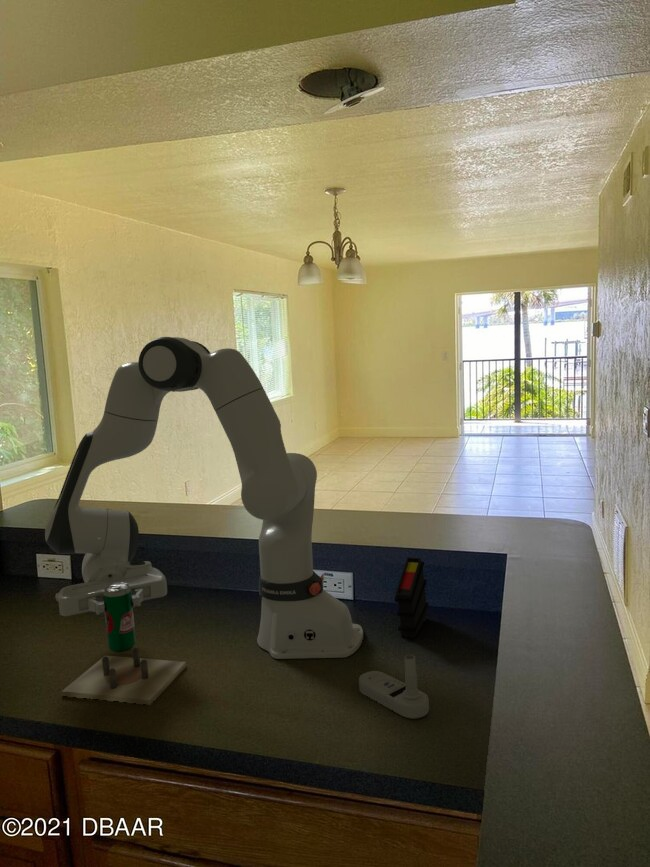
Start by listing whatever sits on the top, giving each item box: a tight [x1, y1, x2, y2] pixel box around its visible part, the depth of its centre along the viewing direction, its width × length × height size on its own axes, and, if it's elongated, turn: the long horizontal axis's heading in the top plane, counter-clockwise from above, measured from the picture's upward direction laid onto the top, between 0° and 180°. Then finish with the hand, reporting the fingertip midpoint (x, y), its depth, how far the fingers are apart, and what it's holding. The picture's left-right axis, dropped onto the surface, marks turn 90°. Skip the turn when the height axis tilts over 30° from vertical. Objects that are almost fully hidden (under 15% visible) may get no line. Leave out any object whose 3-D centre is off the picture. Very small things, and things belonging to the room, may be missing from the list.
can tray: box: [61, 647, 187, 706], centre depth 123 cm, size 18×14×5 cm
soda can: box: [103, 583, 136, 653], centre depth 122 cm, size 5×5×12 cm
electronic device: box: [358, 654, 430, 720], centre depth 112 cm, size 5×10×15 cm
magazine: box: [393, 557, 429, 638], centre depth 139 cm, size 4×13×15 cm, turn 157°
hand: (119, 606), depth 121 cm, fingers closed on soda can, 5 cm apart
